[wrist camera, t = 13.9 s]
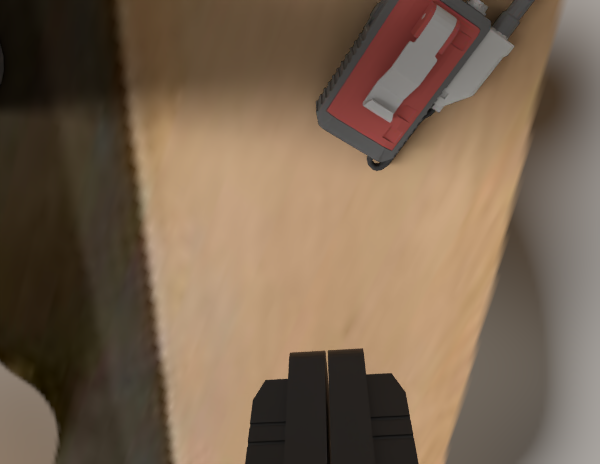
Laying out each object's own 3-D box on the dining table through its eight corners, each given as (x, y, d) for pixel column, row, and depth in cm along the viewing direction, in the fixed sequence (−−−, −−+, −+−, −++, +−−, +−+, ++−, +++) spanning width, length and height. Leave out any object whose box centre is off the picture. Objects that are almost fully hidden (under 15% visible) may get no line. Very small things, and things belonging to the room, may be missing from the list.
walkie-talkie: (398, 177, 44) (593, -76, 35) (406, 204, 40) (627, -72, 31) (300, 119, 42) (482, -167, 33) (299, 141, 38) (504, -175, 29)
